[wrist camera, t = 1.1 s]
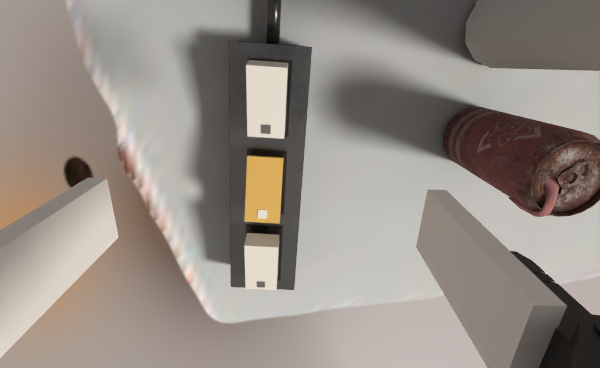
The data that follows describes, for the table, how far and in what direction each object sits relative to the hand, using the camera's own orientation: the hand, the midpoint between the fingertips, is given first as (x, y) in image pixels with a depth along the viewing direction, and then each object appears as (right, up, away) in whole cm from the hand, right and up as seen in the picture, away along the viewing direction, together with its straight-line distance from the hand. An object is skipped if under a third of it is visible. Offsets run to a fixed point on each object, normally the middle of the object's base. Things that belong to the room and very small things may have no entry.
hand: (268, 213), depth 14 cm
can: (+19, +6, +21) cm, 29 cm away
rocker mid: (-2, +1, +17) cm, 17 cm away
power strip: (-2, +6, +21) cm, 22 cm away
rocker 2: (-3, -7, +20) cm, 21 cm away
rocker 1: (-1, +8, +14) cm, 16 cm away
